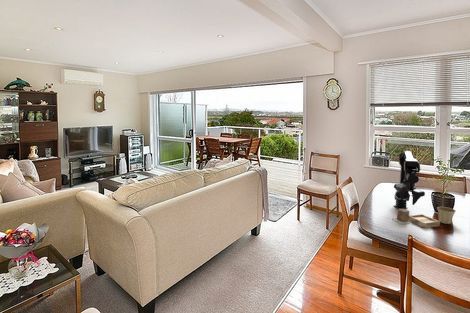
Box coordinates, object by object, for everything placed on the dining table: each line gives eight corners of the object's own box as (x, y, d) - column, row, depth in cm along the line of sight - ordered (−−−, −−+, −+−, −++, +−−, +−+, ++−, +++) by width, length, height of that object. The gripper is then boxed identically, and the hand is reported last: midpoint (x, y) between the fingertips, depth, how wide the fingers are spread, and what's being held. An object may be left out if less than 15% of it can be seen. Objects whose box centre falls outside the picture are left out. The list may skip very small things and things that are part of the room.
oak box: (408, 220, 173) (408, 215, 172) (421, 218, 175) (422, 214, 174) (424, 228, 161) (425, 223, 161) (439, 226, 163) (439, 221, 163)
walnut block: (396, 219, 173) (397, 209, 172) (402, 218, 174) (403, 208, 173) (402, 222, 169) (403, 211, 168) (408, 221, 170) (409, 211, 169)
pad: (392, 219, 175) (392, 218, 175) (402, 217, 176) (402, 217, 176) (402, 224, 167) (402, 223, 167) (412, 222, 169) (412, 222, 169)
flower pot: (435, 217, 176) (437, 205, 174) (454, 221, 170) (455, 208, 168) (435, 222, 168) (436, 209, 167) (454, 226, 163) (456, 213, 161)
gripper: (387, 176, 176) (385, 198, 179) (411, 184, 158) (408, 208, 161) (402, 175, 179) (399, 197, 182) (426, 183, 161) (424, 207, 164)
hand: (407, 202), depth 172 cm, fingers open, 9 cm apart
